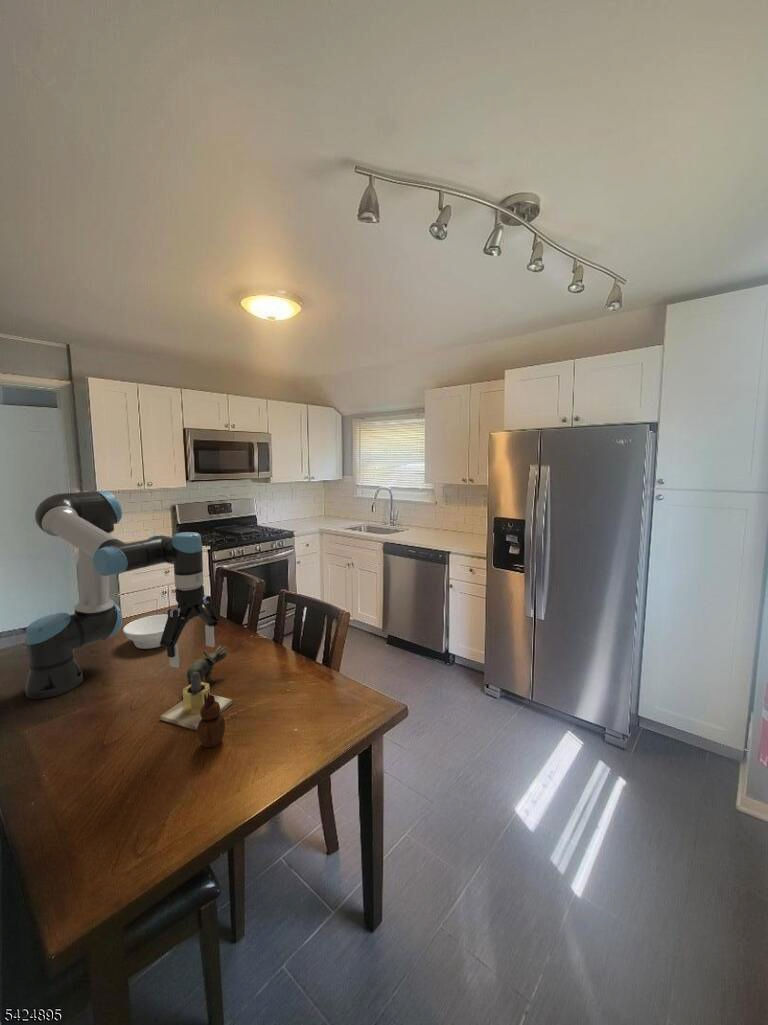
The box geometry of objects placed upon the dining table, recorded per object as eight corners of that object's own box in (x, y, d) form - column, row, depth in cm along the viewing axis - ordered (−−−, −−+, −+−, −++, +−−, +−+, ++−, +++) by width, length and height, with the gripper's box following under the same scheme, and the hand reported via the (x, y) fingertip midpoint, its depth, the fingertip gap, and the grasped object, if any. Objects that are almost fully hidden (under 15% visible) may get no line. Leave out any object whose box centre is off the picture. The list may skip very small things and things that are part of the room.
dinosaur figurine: (187, 710, 127) (185, 675, 126) (163, 706, 129) (161, 671, 128) (230, 673, 148) (228, 643, 147) (209, 670, 150) (207, 641, 149)
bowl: (166, 654, 162) (164, 634, 161) (112, 654, 162) (110, 634, 161) (191, 632, 183) (190, 614, 182) (143, 632, 183) (142, 614, 182)
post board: (160, 719, 122) (157, 679, 120) (197, 694, 135) (195, 657, 133) (198, 730, 117) (195, 688, 115) (232, 703, 130) (230, 665, 128)
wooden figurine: (207, 754, 108) (204, 700, 106) (194, 746, 111) (190, 693, 109) (230, 739, 113) (227, 687, 111) (216, 732, 116) (213, 681, 114)
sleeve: (178, 711, 124) (177, 692, 123) (197, 698, 130) (196, 680, 130) (197, 717, 121) (196, 697, 120) (215, 703, 128) (214, 685, 127)
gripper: (162, 602, 108) (167, 679, 111) (230, 576, 131) (232, 640, 134) (141, 598, 111) (146, 673, 113) (211, 573, 134) (214, 636, 137)
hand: (193, 655), depth 124 cm, fingers open, 13 cm apart
